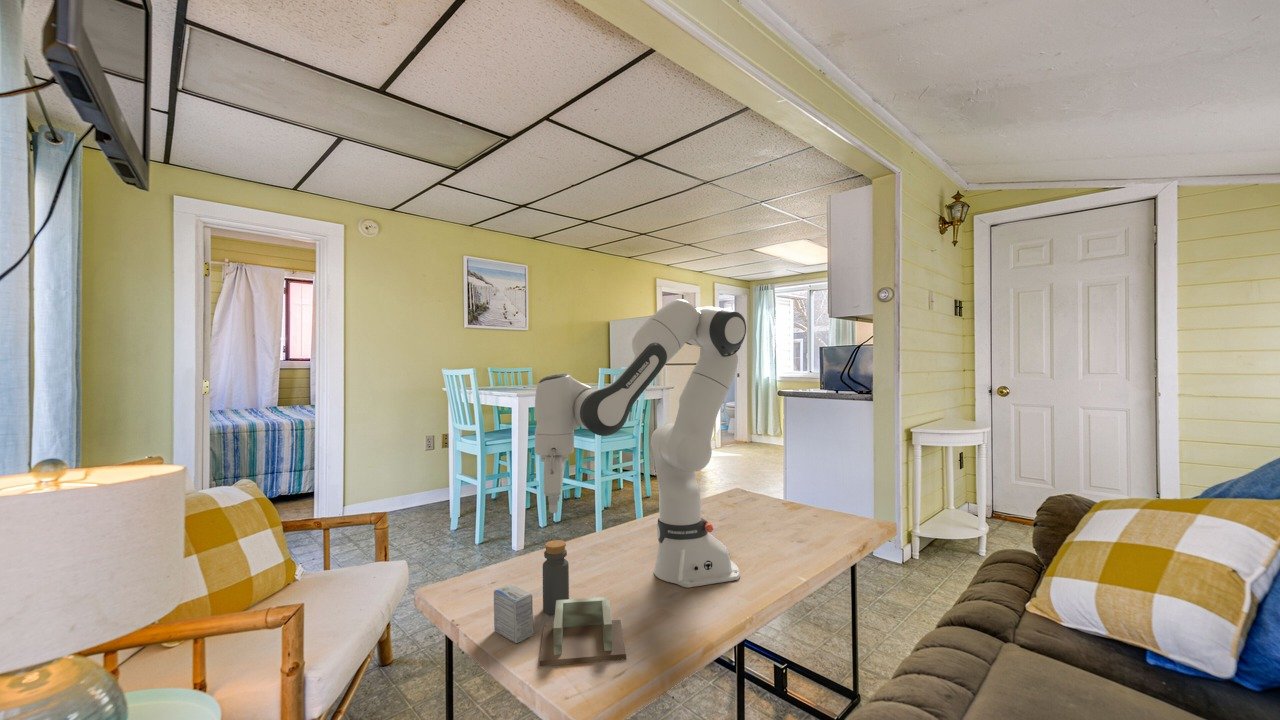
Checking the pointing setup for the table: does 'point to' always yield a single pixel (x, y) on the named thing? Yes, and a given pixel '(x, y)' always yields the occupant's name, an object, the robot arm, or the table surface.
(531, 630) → the medicine box
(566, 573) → the bottle
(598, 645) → the u rest
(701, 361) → the robot arm
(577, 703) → the table surface
